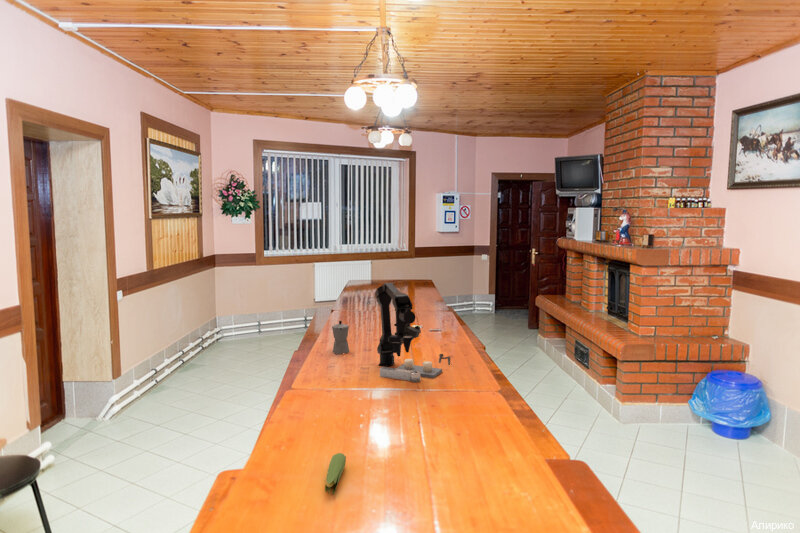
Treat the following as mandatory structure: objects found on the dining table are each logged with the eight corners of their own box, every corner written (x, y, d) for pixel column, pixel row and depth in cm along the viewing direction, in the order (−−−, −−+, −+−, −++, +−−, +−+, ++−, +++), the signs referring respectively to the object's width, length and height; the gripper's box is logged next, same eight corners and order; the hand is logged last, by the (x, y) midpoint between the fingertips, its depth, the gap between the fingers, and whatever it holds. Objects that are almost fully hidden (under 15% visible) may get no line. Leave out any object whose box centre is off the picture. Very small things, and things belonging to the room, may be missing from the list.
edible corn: (349, 451, 161) (335, 446, 162) (337, 486, 142) (321, 482, 142) (345, 465, 162) (331, 461, 162) (332, 503, 142) (317, 498, 143)
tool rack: (393, 372, 252) (393, 361, 252) (403, 366, 262) (403, 355, 262) (433, 378, 243) (433, 367, 242) (442, 371, 253) (442, 360, 252)
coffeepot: (349, 355, 284) (349, 322, 282) (332, 355, 283) (331, 323, 281) (348, 347, 299) (348, 317, 297) (332, 348, 298) (331, 317, 296)
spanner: (378, 377, 246) (378, 368, 245) (383, 374, 250) (383, 365, 250) (417, 382, 237) (417, 374, 236) (422, 379, 241) (422, 371, 241)
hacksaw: (439, 355, 283) (439, 353, 282) (458, 356, 281) (458, 353, 281) (437, 369, 259) (437, 366, 259) (458, 369, 258) (458, 366, 257)
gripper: (409, 324, 230) (410, 359, 230) (425, 319, 247) (426, 351, 247) (387, 324, 235) (388, 358, 235) (404, 318, 252) (405, 350, 252)
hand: (403, 354), depth 242 cm, fingers open, 9 cm apart
